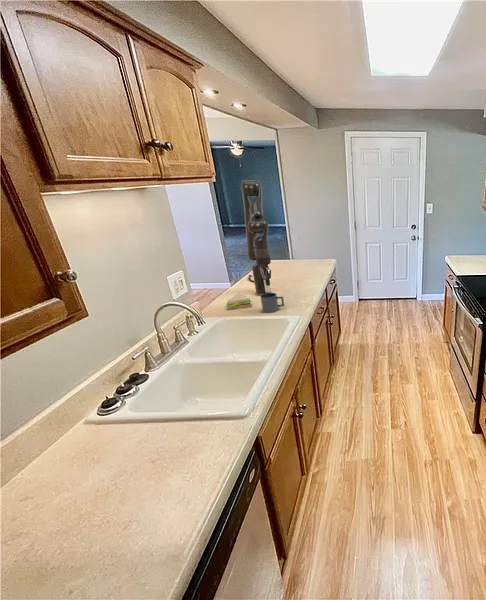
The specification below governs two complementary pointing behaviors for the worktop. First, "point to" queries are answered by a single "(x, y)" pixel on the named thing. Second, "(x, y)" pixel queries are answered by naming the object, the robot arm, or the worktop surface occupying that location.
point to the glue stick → (267, 288)
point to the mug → (270, 302)
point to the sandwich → (238, 301)
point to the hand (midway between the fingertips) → (267, 284)
